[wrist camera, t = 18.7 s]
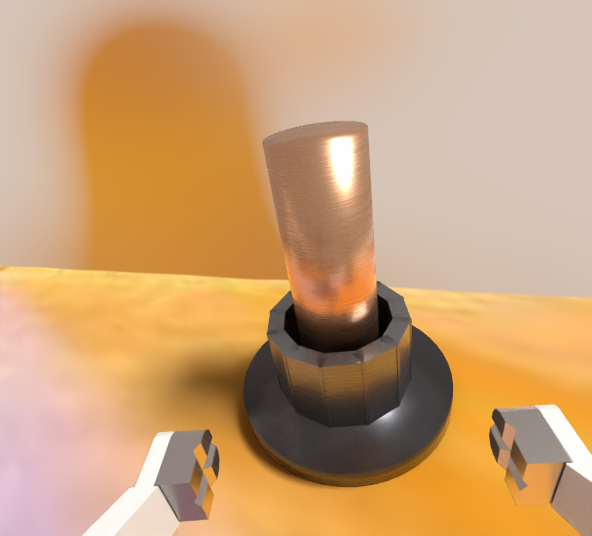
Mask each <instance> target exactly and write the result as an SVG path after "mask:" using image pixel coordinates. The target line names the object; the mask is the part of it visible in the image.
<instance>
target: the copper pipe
mask: <svg viewBox="0 0 592 536" xmlns="http://www.w3.org/2000/svg"><path fill="white" fill-rule="evenodd" d="M263 148H264V153H265V158H266V164H267V169H268V174H269V179H270V184H271V190H272V194H273V200H274V205H275V210H276V215H277V221H278V226H279V231H280V235H281V241H282V246H283V252H284V257H285V262H286V267H287V272H288V277H289V283H290V288H291V293H292V298H293V303H294V308H295V314H296V319H297V324H298V329H299V334H300V339H301V345H302V347H305V348H308V349H311V350H314V351H317V352H321V353H324V354H325V353H336V352H347V351H357V350H359V349H361V348H362V347H364V346H366V345H368V344H370V343H372V342H374V341H376V340H378V339H379V324H378V306H377V287H376V270H375V251H374V232H373V214H372V199H371V198H372V196H371V178H370V159H369V141H368V126H367V125H366V124H365V123H362V122H355V121H334V122H323V123H316V124H310V125H304V126H299V127H295V128H291V129H287V130H284V131H281V132H278V133H275V134H273V135H271V136H269V137H267V138H266V139H264V140H263Z"/></svg>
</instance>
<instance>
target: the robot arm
mask: <svg viewBox="0 0 592 536" xmlns="http://www.w3.org/2000/svg"><path fill="white" fill-rule="evenodd" d="M492 418H493V420H494V423H495V424H494V425H493V426H492V427H491V428H490V434H489V438H490V445H491V448H492V452H493V455H494V457H495V459H496V462H497V464H499V465H500V466H501V467H502V468H504V469H505V470H506V475H505V482H506V484H507V486H508V488H509V491H510V493H511V495H512V497H513V499H514V502H515V504H516V505H551V507H552V508H553V509H554V510H555V511H556V512H557V513H558V514H559V515H561V516H562V517H563V518H564V519H565V520H566V521H567V522H568V523H569V524H570V525H571V526H572V527H573V528H574V529H575V530H577V531H578V532H579V533H580V534H581V535H582V536H592V455H591V454H590V452H589V451H588V450H587V448H586V447H585V445H584V444H583V442H582V441H581V439H580V438H579V437H578V435H577V434H576V432H575V431H574V429H573V428H572V426H571V425H570V424H569V422H568V421H567V419H566V418H565V416H564V415H563V414H562V412H561V411H560V409H559V408H558V407H557V406H555V405H551V404H550V405H539V406H520V407H509V408H497V409H495V410H494V411H493V415H492ZM211 440H212V435H211V433H210V431H209V430H194V431H172V432H159V433H158V434H157V435H156V436H155V438H154V440H153V442H152V445H151V447H150V450H149V453H148V455H147V458H146V460H145V463H144V465H143V468H142V470H141V473H140V475H139V478H138V480H137V483H136V485H135V487H131V488H129V489H128V490H127V491H126V492H125V493H124V494H123V495H122V496H121V497H120V498H119V499H118V500H117V501H116V502H115V503H114V504H113V505H112V506H111V507H110V508H109V509H108V510H107V511H106V512H105V513H104V514H103V515H102V516H101V517H100V518H99V519H98V520H97V521H96V522H95V523H94V524H93V525H92V526H91V527H90V528H89V529H88V530H87V531H86V532H85V533H84V534H83V535H82V536H171V535H172V534H173V533H174V531H175V530H176V528H177V527H178V526H179V524H180V523H179V522H182V521H195V520H208V519H209V514H210V510H211V505H212V500H213V496H214V495H213V492H212V490H211V488H210V487H211V486H212V485H213V484H214V482H215V481H216V480H217V477H218V472H219V453H218V450H217V447H216V446H215V445H214V444H212V443H211Z"/></svg>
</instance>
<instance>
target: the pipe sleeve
mask: <svg viewBox="0 0 592 536" xmlns="http://www.w3.org/2000/svg"><path fill="white" fill-rule="evenodd" d="M376 287H377V306H378V324H379V339H378V340H376V341H374V342H372V343H370V344H368V345H366V346H364V347H362V348H361V349H359V350H357V351H347V352H336V353H325V354H324V353H321V352H317V351H314V350H311V349H308V348H305V347H302V345H301V339H300V334H299V329H298V324H297V319H296V314H295V308H294V303H293V298H292V293H291V291H289V292H288V293H287V294H286V295H285V296H284V297H283V298H282V299H281V300H280V301H279V303H278V304H277V305H276V306H275V307H274V308H273V309H272V310H271V311H270V318H269V325H268V331H267V337H268V341H267V342H266V343H265V344H264V345H263V346H262V347H261V348H260V349H259V351H258V352H257V353H256V355H255V356H254V358H253V360H252V361H251V364H250V366H249V368H248V370H247V374H246V377H245V382H244V402H245V407H246V411H247V414H248V417H249V420H250V423H251V426H252V429H253V431H254V434H255V436H256V438H257V440H258V441H259V443H260V444H261V446H262V447H263V449H264V450H265V451H266V452H267V453H268V454H269V455H270V457H271V458H273V459H274V460H275V461H276V462H277V463H278V464H280V465H281V466H282V467H284V468H286V469H287V470H289V471H290V472H292V473H294V474H296V475H298V476H300V477H303V478H305V479H307V480H311V481H314V482H318V483H321V484H327V485H334V486H364V485H372V484H376V483H380V482H384V481H388V480H390V479H393V478H395V477H398V476H400V475H402V474H404V473H406V472H408V471H409V470H411V469H413V468H414V467H416V466H417V465H419V464H420V463H421V462H422V461H423V460H425V459H426V458H427V457H428V456H429V455H430V454H431V453H432V452H433V451H434V449H435V448H436V447H437V446H438V444H439V443H440V441H441V439H442V438H443V436H444V434H445V432H446V429H447V427H448V424H449V420H450V416H451V410H452V398H453V381H452V374H451V371H450V368H449V365H448V362H447V361H446V359H445V357H444V355H443V353H442V352H441V350H440V349H439V348H438V346H437V345H436V344H435V343H434V342H433V341H432V340H431V339H430V338H429V337H428V336H427V335H426V334H424V333H423V332H422V331H421V330H419V329H417V328H416V327H414V326H413V325H412V319H411V318H410V315H409V313H408V310H407V307H406V304H405V302H404V297H403V296H401V295H399V294H397V293H396V292H394V291H393V290H391V289H390V288H388V287H387V286H385V285H384V284H382V283H381V282H379V281H378V282H377V281H376Z"/></svg>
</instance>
